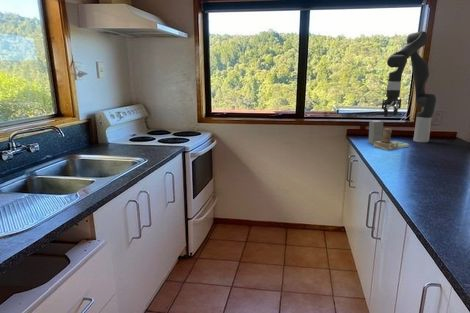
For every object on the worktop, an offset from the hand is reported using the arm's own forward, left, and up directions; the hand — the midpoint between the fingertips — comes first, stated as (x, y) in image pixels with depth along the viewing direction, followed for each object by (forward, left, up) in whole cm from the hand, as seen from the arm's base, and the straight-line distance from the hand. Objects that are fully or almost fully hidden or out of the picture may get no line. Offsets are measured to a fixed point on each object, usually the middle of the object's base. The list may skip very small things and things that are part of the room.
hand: (390, 115), depth 202 cm
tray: (-11, -1, -21) cm, 24 cm away
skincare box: (-6, -14, -21) cm, 26 cm away
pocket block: (0, -1, -21) cm, 21 cm away
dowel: (0, -1, -20) cm, 20 cm away
